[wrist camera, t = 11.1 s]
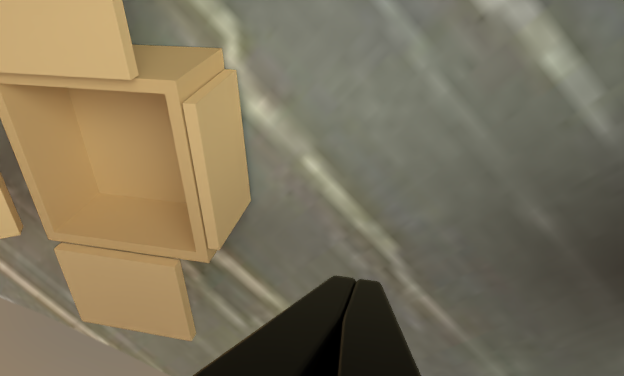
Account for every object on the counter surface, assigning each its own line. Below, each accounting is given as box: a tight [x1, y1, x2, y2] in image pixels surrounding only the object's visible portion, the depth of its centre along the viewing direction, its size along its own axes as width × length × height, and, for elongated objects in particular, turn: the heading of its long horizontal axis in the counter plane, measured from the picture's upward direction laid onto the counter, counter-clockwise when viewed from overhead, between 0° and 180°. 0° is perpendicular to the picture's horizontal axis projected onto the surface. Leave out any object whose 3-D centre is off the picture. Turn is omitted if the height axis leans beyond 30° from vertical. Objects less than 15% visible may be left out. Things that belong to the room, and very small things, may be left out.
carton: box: [0, 0, 251, 341], centre depth 21 cm, size 9×17×4 cm, turn 1°
